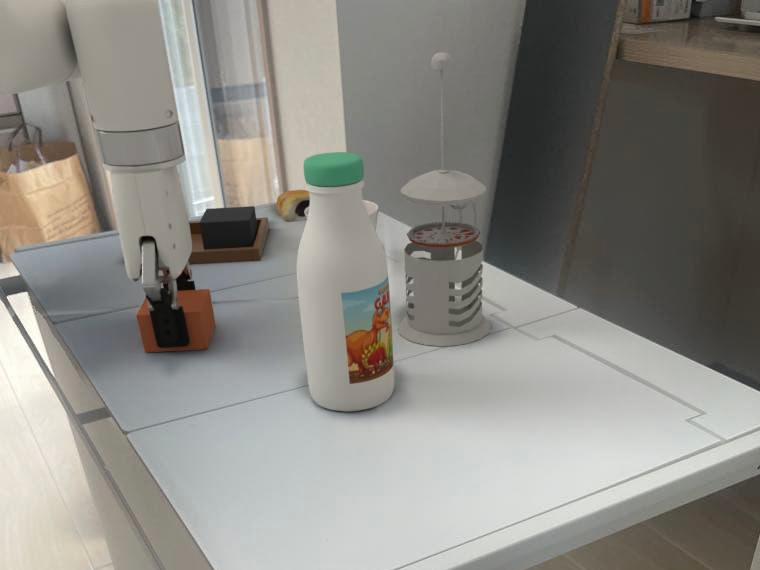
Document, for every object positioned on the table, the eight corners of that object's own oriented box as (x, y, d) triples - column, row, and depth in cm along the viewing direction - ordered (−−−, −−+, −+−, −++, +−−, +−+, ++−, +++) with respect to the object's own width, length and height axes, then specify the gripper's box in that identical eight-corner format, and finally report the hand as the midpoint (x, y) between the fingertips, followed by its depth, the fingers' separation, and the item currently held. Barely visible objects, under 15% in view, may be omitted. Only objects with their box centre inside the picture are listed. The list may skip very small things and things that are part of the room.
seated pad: (204, 254, 108) (198, 222, 106) (211, 239, 113) (206, 208, 111) (254, 251, 108) (249, 219, 106) (258, 236, 113) (254, 205, 111)
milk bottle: (319, 420, 72) (291, 173, 60) (302, 382, 78) (274, 152, 66) (405, 405, 74) (394, 162, 62) (382, 370, 80) (368, 142, 68)
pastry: (268, 210, 126) (265, 183, 123) (311, 204, 128) (309, 178, 125) (286, 226, 119) (282, 198, 116) (331, 220, 121) (329, 192, 118)
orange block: (144, 352, 85) (135, 315, 83) (156, 328, 90) (148, 291, 88) (207, 349, 85) (200, 311, 83) (216, 325, 90) (209, 288, 88)
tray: (129, 272, 105) (125, 255, 104) (150, 239, 116) (146, 223, 115) (260, 265, 106) (258, 248, 104) (269, 232, 117) (267, 217, 115)
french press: (381, 338, 86) (365, 59, 71) (427, 299, 94) (421, 41, 79) (471, 352, 82) (474, 61, 67) (510, 310, 91) (520, 42, 76)
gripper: (121, 129, 84) (159, 303, 94) (74, 171, 70) (125, 370, 80) (196, 125, 84) (226, 299, 94) (164, 166, 70) (204, 365, 80)
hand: (179, 330), depth 87 cm, fingers closed on orange block, 6 cm apart
